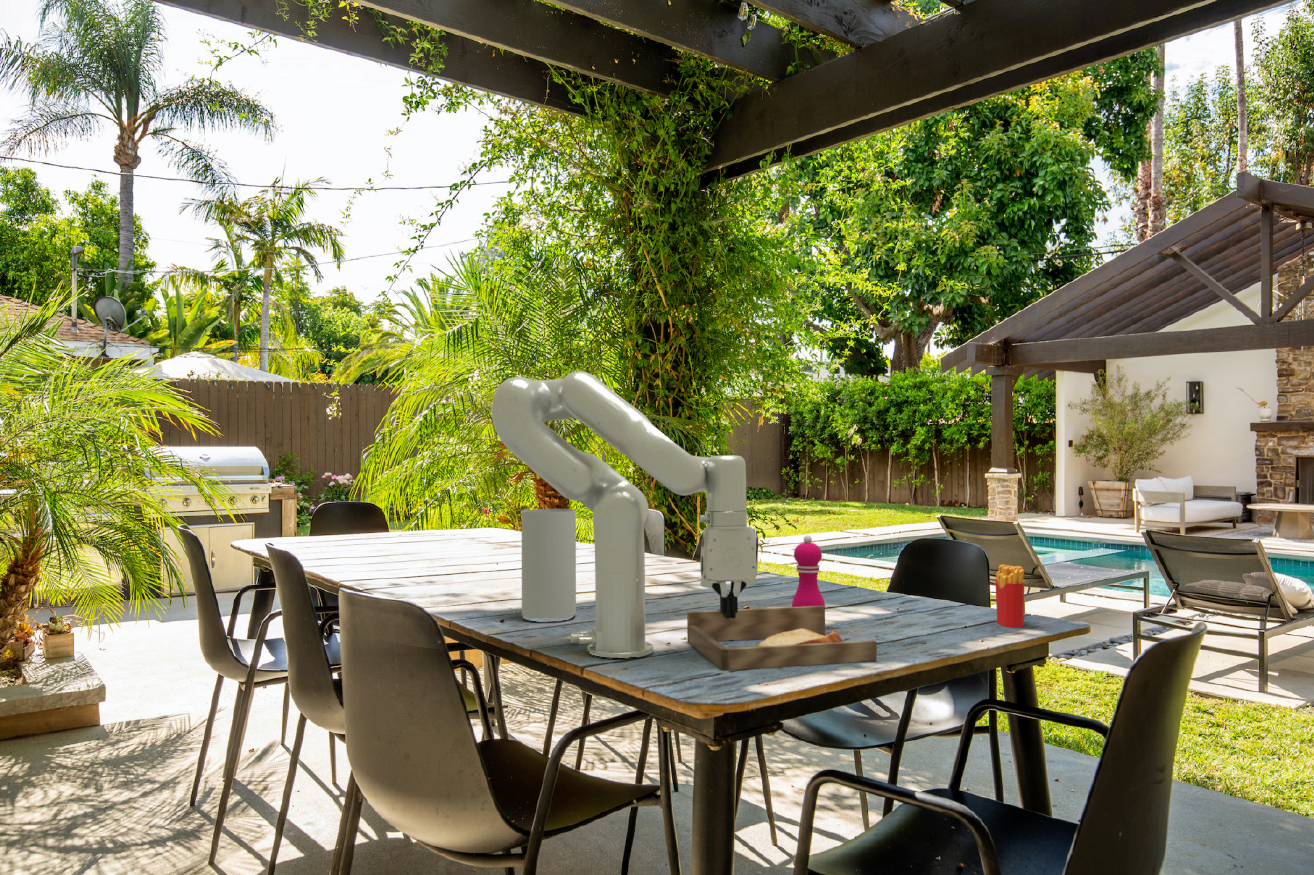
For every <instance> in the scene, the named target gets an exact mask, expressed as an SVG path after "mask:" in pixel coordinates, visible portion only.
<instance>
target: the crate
mask: <svg viewBox="0 0 1314 875" xmlns="http://www.w3.org/2000/svg"><path fill="white" fill-rule="evenodd" d="M686 614H687V616H686V617H687V622H686V624H687V626H686V628H687V639H686V640H687V643H689V644H690V645H691V646H693V647H694V648H695V649H696V650H697V651H698V652H699V653H701V654H702V655H703V656H704V657H705V658H707V657H708V658H707V659H708V660H709V659H710V660H711V661H710V660H709V661H710V662H712V663H713V664H714V665H715V666H716V665H717V666H716V667H717V668H719V669H720V670H721V671H733V670H735V671H736V670H747V669H748V670H750V669H751V670H752V669H764V668H765V669H766V668H782V667H783V668H784V667H798V666H799V667H801V666H816V665H833V664H847V663H848V662H849V664H851V663H862V662H861V661H868V662H873V661H872V660H877V658H878V657H877V650H878V649H877V641H876V640H872V639H871V640H870V639H869V640H853V641H852V640H851V641H842V642H833V643H814V644H796V645H778V646H760V647H757V646H748V647H747V646H744V647H743V646H742V647H730V648H729V647H726V646H724V645H723V644H721V643H720V642H730V641H729V640H734V641H748V640H749V641H750V640H766V638H768V637H770V636H772V635H776V634H779V633H782V632H787V631H792V630H796V629H800V628H804V629H808V630H811V631H813V632H816V633H818V634H820V635H823V636H826V605H825V606H804V607H792V606H786V607H764V608H760V607H759V608H743V609H739V608H738V612H737V613H736V618H730V619H727V618H725V617H723V614H721V612H720V609H718V610H699V611H698V610H697V611H696V610H694V611H687V612H686ZM850 662H851V663H850Z"/></svg>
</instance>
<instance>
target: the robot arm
mask: <svg viewBox="0 0 1314 875" xmlns="http://www.w3.org/2000/svg"><path fill="white" fill-rule="evenodd" d="M491 419H492V424H493V427H494V430H495V433H496V434H497V436H498V438H499V439H500V440H501V443H502V444H503V445H504V446H505V447H506V449H507V450H509V452H511V453H512V454H513V455H514V456H515V457H517V459H518V460H520V461H521V462H522V463H524V465H526V466H528V467H529V469H530V470H532V471H533V472H534V473H535V474H536V475H538V476H539V477H540V478H541V479H542V480H544V481H545V482H546V483H547V484H548V485H550V486H551V487H552V488H553V489H554V490H556V491H557V493H559V494H560V495H561V496H562V497H564V498H566V499H567V500H570V501H578V502H579V503H580V504H582V505H583V506H584V507H586V509H588V510H590V511H591V512H592V526H593V528H592V529H593V540H594V571H595V572H594V573H595V574H594V575H595V576H594V577H595V580H594V582H595V583H594V584H595V586H594V587H595V589H594V592H595V593H594V594H595V607H594V608H595V626H592V627H591V630H587V632H570V643H571V644H579V645H585V644H588V645H587V646H586V647H587V648H586V649H587V652H588V651H589V652H591V653H593V654H596V655H599V656H604V657H618V658H625V659H630V658H629V657H636V658H641V657H646V656H648V655H650V654H652V653H653V652H654V644H652V643H651V642H650V641H646V570H645V569H646V566H645V565H646V564H645V563H646V562H645V532H644V531H645V522H646V520H647V517H648V514H649V503H648V500H647V497H646V495H645V494H644V493H643V492H642V490H641V489H639V488H638V487H637V486H635V484H633V483H632V482H631V481H629V480H628V479H627V478H625V477H624V476H623V475H621V474H620V473H619V472H617V471H616V470H615V469H614V468H612V467H611V466H610V465H609V464H608V463H606V462H605V461H604V460H602V459H601V458H599V457H598V456H596V455H594V454H592V453H590V452H585V451H581V450H579V449H577V448H576V447H575V446H573V445H572V444H571V443H569V442H568V441H566V439H564V438H563V437H562V436H561V435H559V434H558V433H557V432H556V431H554V430H553V429H552V428H550V427H549V426H548V425H547V424H546V423H545V422H551V421H563V420H573V419H576V420H578V421H580V422H581V423H582V424H584V425H585V426H587V427H588V428H589V429H590V430H592V432H594V433H595V434H596V435H598V436H599V437H600V438H602V439H603V440H604V441H605V442H607V444H609V445H610V446H611V447H613V448H615V449H616V450H617V451H618V452H619V453H620V454H622V455H623V456H625V457H627V458H628V459H629V460H631V461H632V462H634V464H636V465H637V466H638V467H640V469H642V470H643V471H645V472H646V473H647V474H648V475H649V476H651V477H653V479H654V480H656V481H658V483H660V484H661V485H663V486H664V487H665V488H666V489H668V490H669V491H670V492H672V493H674V494H676V495H678V496H690V495H693V494H695V493H701V492H706V511H705V513H704V514H700V515H699V521H700V523H705V525H707V527H704V528H703V532H702V538H701V549H700V565H699V566H700V576H701V579H700V586H701V587H703V588H706V589H712V590H714V592H715V593H716V594H718V596H719V610H720V612H721V614H723V617H725V618H727V619H730V618H736V613H737V612H738V609H739V608H738V604H739V603H738V598H739V596H740V594H741V593H742V592H743V591H744V589H745V588H747V587H750V586H753V585H756V584H757V579H756V577H757V575H758V564H757V563H758V562H757V554H756V553H757V552H756V551H757V550H756V544H755V538H754V534H753V528H752V527H751V526H748V513H747V512H748V511H747V471H746V468H747V467H746V461H745V458H743V457H742V456H740V455H736V454H735V455H732V454H731V455H730V454H728V455H726V454H725V455H723V454H722V455H712V456H710V457H708V456H697V455H692V454H690V453H689V452H687V451H686V450H684V448H682V447H681V446H680V445H678V444H677V443H676V442H674V441H673V440H672V439H670V438H669V437H668V436H666V435H665V434H664V433H663V432H662V431H661V430H659V429H658V428H657V427H656V426H655V425H654V424H653V423H652V422H651V421H650V420H649V418H648V417H647V416H646V415H645V414H644V413H643V412H642V411H640V410H639V409H637V407H635V406H633V405H632V404H631V403H630V402H628V401H626V400H625V399H624V398H623V397H621V396H620V395H619V394H617V393H616V392H615V391H613V390H612V389H611V388H610V387H608V385H607V384H604V382H602V381H601V380H600V379H599V378H597V377H596V376H594V375H593V374H592V373H589V372H588V371H582V370H578V371H577V370H576V371H573V372H570V373H569V374H567V375H566V376H565V377H563V378H554V379H545V380H535V379H531V378H529V377H523V376H513V377H510V378H507V379H505V380H504V381H503V382H502V383H500V384H499V386H498V387H497V388H496V391H495V393H494V396H493V399H492V404H491ZM726 582H730V583H729V584H730V585H729V591H728V586H727V583H726Z"/></svg>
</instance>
